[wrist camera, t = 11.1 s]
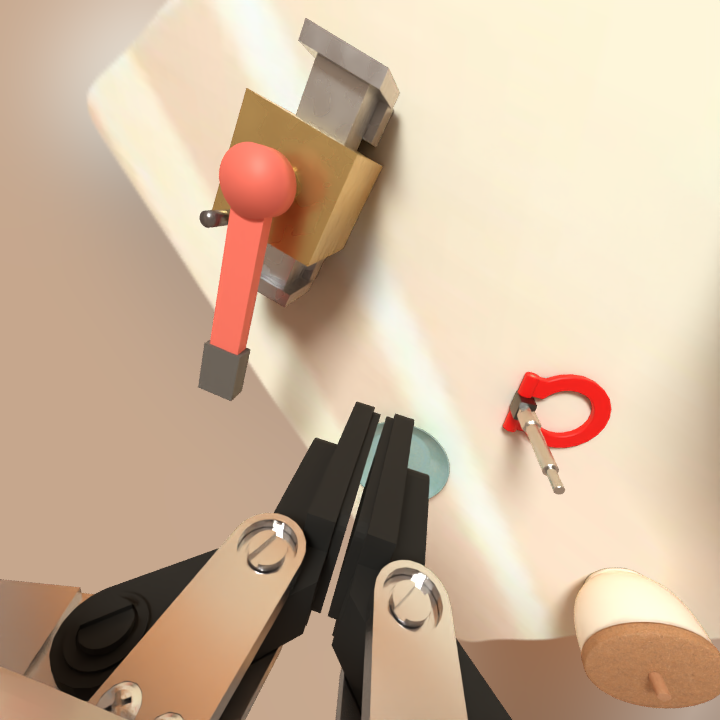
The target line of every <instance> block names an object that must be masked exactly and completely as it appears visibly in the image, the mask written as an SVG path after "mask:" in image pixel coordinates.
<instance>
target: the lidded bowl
mask: <svg viewBox="0 0 720 720" xmlns="http://www.w3.org/2000/svg"><path fill="white" fill-rule="evenodd" d="M574 624H575V630H576V636H577V639H578V643H579V647H580V651H581V658H582V662H583V666H584V669H585V672H586V674H587V676H588V677H589V679H590V680H591V681H592V682H593V683H594V684H595V685H596V686H597V687H598V688H599V689H601V690H602V691H604V692H605V693H607V694H609V695H611V696H612V697H615V698H617V699H620V700H622V701H625V702H628V703H632V704H635V705H640V706H646V707H653V708H682V707H689V706H694V705H698V704H701V703H704V702H707V701H709V700H712V699H713V698H715V697H716V696H718V695H719V694H720V653H719V651H718V650H717V648H716V647H715V646H714V645H713V644H712V642H711V640H710V638H709V637H708V635H707V634H706V632H705V631H704V629H703V628H702V626H701V625H700V623H699V622H698V621H697V619H696V618H695V617H694V615H693V614H692V613H691V611H690V610H689V609H688V608H687V607H686V606H685V605H684V604H683V603H682V602H681V601H680V600H679V599H678V598H677V597H676V596H675V595H674V594H673V593H672V592H670V591H669V590H668V589H666V588H665V587H663V586H662V585H660V584H659V583H657V582H655V581H653V580H651V579H649V578H647V577H644V576H643V575H641V574H640V573H638V572H636V571H633V570H630V569H625V568H606V569H602V570H599V571H596V572H594V573H592V574H591V575H590V576H589V577H588V578H587V579H586V581H585V583H584V585H583V586H582V588H581V589H580V591H579V592H578V594H577V597H576V600H575V605H574Z"/></svg>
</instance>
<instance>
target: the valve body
mask: <svg viewBox="0 0 720 720" xmlns="http://www.w3.org/2000/svg"><path fill="white" fill-rule="evenodd" d="M298 41H299V42H300V43H301V44H302V45H303V46H304V47H305V48H306V49H307V50H308V51H309V52H310V53H311V54H312V55H313V56H314V58H315V61H314V64H313V67H312V70H311V73H310V76H309V79H308V81H307V84H306V87H305V90H304V93H303V96H302V99H301V101H300V104H299V107H298V110H297V113H296V115H295V114H293V113H292V112H290V111H288V110H286V109H284V108H283V107H281V106H279V105H277V104H275V103H273V102H272V101H270V100H268V99H266V98H264V97H262V96H261V95H259V94H257V93H255V92H253V91H251V90H250V89H248V88H246V92H245V95H244V99H243V102H242V106H241V109H240V113H239V117H238V120H237V124H236V127H235V131H234V134H233V138H232V141H231V145H230V148H231V147H233V146H234V145H236V144H238V143H242V142H253V143H257V144H260V145H264V146H267V147H271V148H274V149H276V150H278V151H279V152H281V153H282V154H283V155H284V156H285V157H286V158H287V159H288V161H289V162H290V164H291V166H292V167H293V170H294V173H295V176H296V184H297V187H296V195H295V198H294V201H293V203H292V205H291V206H290V208H289V209H288V210H287V211H286V212H285V213H283V214H282V215H280V216H277V217H273V218H272V223H271V228H270V233H269V238H268V242H267V247H266V252H265V257H264V262H263V267H262V272H261V276H260V281H259V286H258V292H259V293H261V294H263V295H264V296H266V297H268V298H270V299H271V300H273V301H275V302H276V303H278V304H280V305H282V306H283V307H286V306H288V305H289V304H290V303H292V302H293V301H295V300H296V299H298V298H299V297H301V296H302V295H304V294H305V293H307V292H308V291H309V289H310V287H311V285H312V283H313V280H314V279H316V277H317V275H318V273H319V270H320V268H321V266H322V264H323V262H324V260H325V258H326V257H328V256H330V255H332V254H334V253H336V252H338V251H340V250H342V249H343V248H344V246H345V244H346V242H347V240H348V237H349V235H350V233H351V231H352V229H353V227H354V225H355V223H356V221H357V219H358V217H359V215H360V213H361V210H362V208H363V206H364V204H365V202H366V200H367V198H368V196H369V194H370V192H371V190H372V188H373V186H374V183H375V181H376V179H377V177H378V175H379V173H380V171H381V169H382V167H383V166H381V165H380V164H378V163H376V162H375V161H373V160H371V159H370V158H368V157H366V156H365V155H363V154H361V153H360V152H358V151H357V149H358V147H359V145H360V143H361V140H362V139H363V140H365V141H366V142H368V143H370V144H371V145H373V146H375V147H377V145H378V143H379V141H380V138H381V136H382V134H383V132H384V130H385V128H386V126H387V123H388V121H389V119H390V117H391V115H392V113H393V110H394V109H393V107H394V105H395V103H396V100H397V98H398V96H399V94H400V92H399V90H398V88H397V85H396V83H395V81H394V79H393V76H392V74H391V72H390V70H389V68H388V67H386V66H384V65H383V64H381V63H379V62H378V61H376V60H375V59H373V58H371V57H370V56H368V55H366V54H365V53H363V52H361V51H360V50H358V49H356V48H355V47H353V46H351V45H350V44H348V43H346V42H345V41H343V40H341V39H340V38H338V37H336V36H335V35H333V34H332V33H330V32H328V31H327V30H325V29H323V28H322V27H320V26H318V25H317V24H315V23H313V22H312V21H310V20H308V19H307V18H305V22H304V25H303V28H302V31H301V34H300V37H299V40H298ZM230 148H229V149H230ZM230 208H231V207H230V205H229V204H228V203H227V201H226V199H225V198H224V195H223V193H222V190H221V186H220V184H219V187H218V191H217V194H216V198H215V202H214V205H213V209H212V210H209V211H203V212H201V214H200V222H201V223H202V225H203V226H205V227H207V228H210V227H218V226H226V225H228V221H229V215H230Z"/></svg>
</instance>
